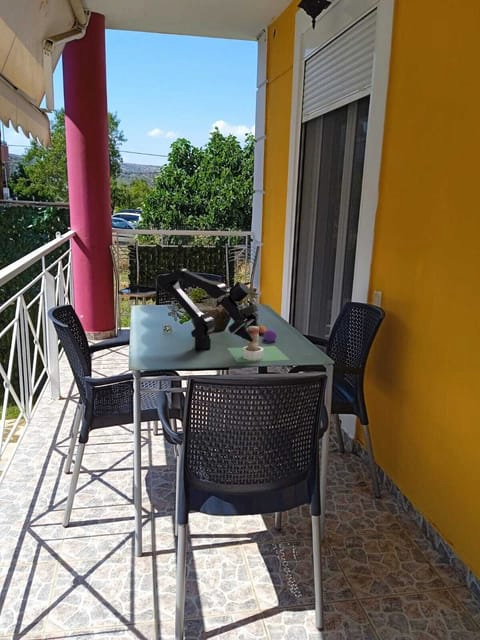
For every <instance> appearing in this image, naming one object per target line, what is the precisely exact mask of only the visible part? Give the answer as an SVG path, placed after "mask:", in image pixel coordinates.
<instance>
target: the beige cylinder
mask: <svg viewBox="0 0 480 640" xmlns="http://www.w3.org/2000/svg"><path fill="white" fill-rule="evenodd" d="M247 331H248V332H249V334H250V336H251V337H252V339H253V341H252V342H250V341H248V340H247V346H248V349H247V350H248V351H258V346H259V341H260V340H259V339H260V338H259V326H258V327H257V326H249V327H248V328H247Z"/></svg>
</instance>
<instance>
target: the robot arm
mask: <svg viewBox="0 0 480 640" xmlns="http://www.w3.org/2000/svg"><path fill="white" fill-rule="evenodd" d="M180 280H183V281H184V282H187V283H188V284H191V285H193V286H194V287H198V288H199V289H201V290H202V291H204V292H205V293H206V295H208V296H209V297H211V298H213V299H214V300H215V299H218V300H216V304H215V305H216V306H215V307H216V308H220V307H222V308H223V310H225V312H226V313H227V317H228V319H229V318H231V319H232V321H233V322H232V324H231V325H229V326H228V332H229V333H230V334H231V335H232V334H233V335H234V336H235V335H236V336H238V337H240V338H242V339H244V340H246V341H247V342H248V341H250V342H252V341H253V339H252V337H251V336H250V334H249V332H248V327H249V326H257V327H259V324H258V319H259V315H258V313H257V312H259V310H258V307H259V306H258V305H257V303H255V302H254V301H253V302H252V301H251V302H250V303H248V306H246V307H244V306H243V305H239V303H240V302H242V301H243V300H244V299H245V298H246V297H248V295H250V294H251V289H250V288H249V286H248V285H246V284H245V283H243V282H242V281H241V280H239V281H236V282H235V284H234V285H233V286H232V287H230V286H227V284H225V283H223V282H220V281H214V280H209V279H207V278H205V277H203V276H201V275H198V274H196V273H194V272H191V271H190V270H188V269H186V268H178V269H176V270H175V271H173V272H170V273H164V274H160V275H159V276H158V277H157V280H156V281H157V282H156V284H157V286H158V287H159V288H160V289H161V290H163V292H165V293H167V294H169V295H170V296H172V297H173V299H174V300H175V301H176V302H177V303H178V305H180V306H181V308H182V309H183V310H184V311H185V312H186V313H187V315H189V317H190V318H191V320H192V323H193V326H194V329H193V330H191V332H190V333H191V337H192V338H193V346H192V348H193V349H194V350H193V351H194V352H201V351H202V352H204V351H211V344H212V343H211V337H210V335H211V334H212V332H213V331H214V330H215V328H216V322H215V320H214V318H213V317H212V316H211V314H210V313H209V311H208V312H202V311H201V310H200V309H199V308H198V307H197V305H196V304H194V301H192V300H191V298H190V297H188V295H187V294H186V293H185V292H184V291H183V289H181V287H180V282H179V281H180ZM219 298H221V299H219ZM262 335H263V333H261V332H260V329H259V337H262Z"/></svg>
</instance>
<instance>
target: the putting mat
mask: <svg viewBox="0 0 480 640" xmlns="http://www.w3.org/2000/svg"><path fill="white" fill-rule="evenodd" d="M261 347H262V348H263V349H264V353H263V358H262V359H260V360H247V359H244V358H243V357H242V350H243V347H227V351H229V353H230V355H231V356H232V357H233V358H234V360H235V361H236V363H252V362H253V363H254V362H269V361H270V362H271V361H272V362H273V361H275V362H276V361H289V360H290V361H291V359H290V358H289V357H287V355H286V354H284V353H283V352H282V351H281V350H280V349H279V348H278V347H277V346H275V345H271V346H270V345H269V346H261Z"/></svg>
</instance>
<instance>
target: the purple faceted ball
mask: <svg viewBox="0 0 480 640" xmlns="http://www.w3.org/2000/svg"><path fill="white" fill-rule="evenodd" d="M258 327H259V326H258ZM259 329H260V332H261V334H263V338H264V340H265V341H266V342H268V343H269V342H270V343H271V342H275V341H276V340H277V337H278V336H277V332H276V331H275V330H273V329H267V328H266V327H265V326H264V325H260V327H259Z"/></svg>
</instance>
